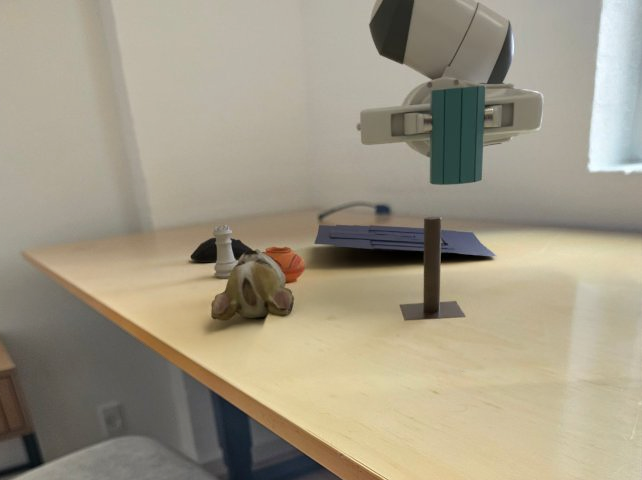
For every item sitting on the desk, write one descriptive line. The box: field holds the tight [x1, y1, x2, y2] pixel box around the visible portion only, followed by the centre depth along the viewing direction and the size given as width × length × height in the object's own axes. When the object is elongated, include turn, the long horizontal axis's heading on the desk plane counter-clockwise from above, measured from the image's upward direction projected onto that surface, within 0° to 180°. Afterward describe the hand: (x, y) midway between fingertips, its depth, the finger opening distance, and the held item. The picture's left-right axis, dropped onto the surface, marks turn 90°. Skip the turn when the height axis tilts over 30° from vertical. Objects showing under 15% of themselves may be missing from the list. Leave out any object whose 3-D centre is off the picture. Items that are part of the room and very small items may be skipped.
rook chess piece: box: [212, 224, 238, 279], centre depth 109 cm, size 4×4×8 cm
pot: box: [263, 246, 306, 284], centre depth 99 cm, size 8×8×7 cm
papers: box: [314, 224, 497, 257], centre depth 118 cm, size 24×30×4 cm
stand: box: [399, 216, 467, 322], centre depth 76 cm, size 7×7×12 cm
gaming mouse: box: [190, 237, 265, 263], centre depth 125 cm, size 6×15×4 cm, turn 97°
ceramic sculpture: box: [210, 248, 295, 322], centre depth 86 cm, size 11×9×15 cm
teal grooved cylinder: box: [429, 86, 486, 186], centre depth 70 cm, size 5×6×9 cm
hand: (458, 120), depth 68 cm, fingers closed on teal grooved cylinder, 5 cm apart
